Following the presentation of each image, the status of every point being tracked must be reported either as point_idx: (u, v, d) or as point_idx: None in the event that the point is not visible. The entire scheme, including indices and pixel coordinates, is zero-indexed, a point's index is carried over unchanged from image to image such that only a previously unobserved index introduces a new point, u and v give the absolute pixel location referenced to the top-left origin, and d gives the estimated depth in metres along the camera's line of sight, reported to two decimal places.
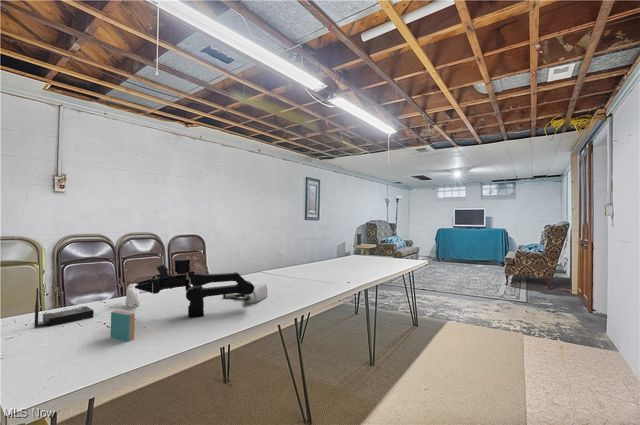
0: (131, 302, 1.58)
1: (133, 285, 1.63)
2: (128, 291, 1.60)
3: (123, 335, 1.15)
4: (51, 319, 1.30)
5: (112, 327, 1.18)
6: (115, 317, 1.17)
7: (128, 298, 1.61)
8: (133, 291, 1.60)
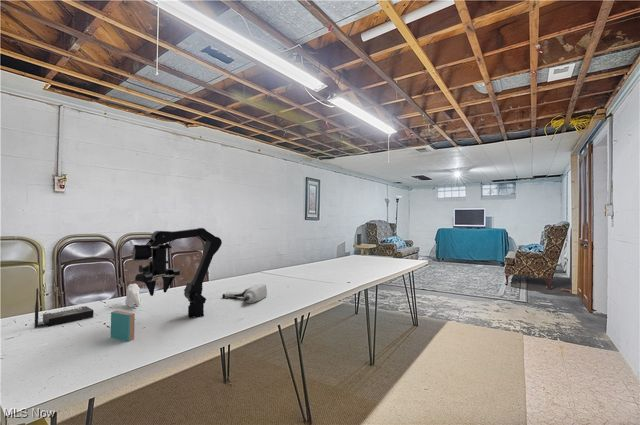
0: (131, 302, 1.58)
1: (133, 285, 1.63)
2: (128, 291, 1.60)
3: (123, 335, 1.15)
4: (51, 319, 1.30)
5: (112, 327, 1.18)
6: (115, 317, 1.17)
7: (128, 298, 1.61)
8: (133, 291, 1.60)
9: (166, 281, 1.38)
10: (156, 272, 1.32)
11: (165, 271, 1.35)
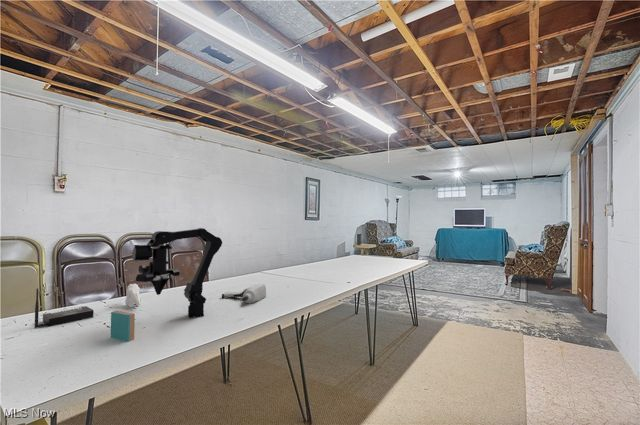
0: (131, 302, 1.58)
1: (133, 285, 1.63)
2: (128, 291, 1.60)
3: (123, 335, 1.15)
4: (51, 319, 1.30)
5: (112, 327, 1.18)
6: (115, 317, 1.17)
7: (128, 298, 1.61)
8: (133, 291, 1.60)
9: None
10: (156, 272, 1.32)
11: (165, 271, 1.35)
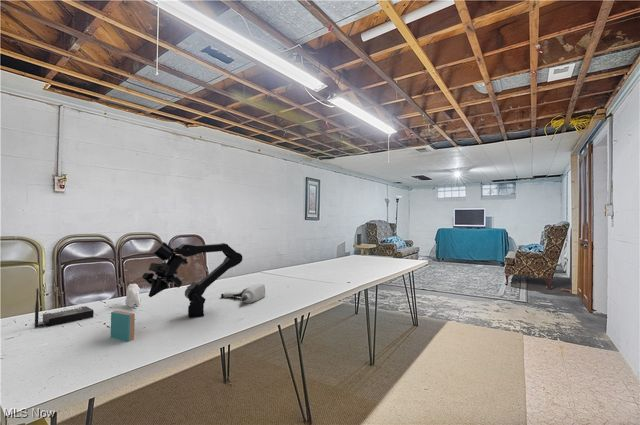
0: (131, 302, 1.58)
1: (133, 285, 1.63)
2: (128, 291, 1.60)
3: (123, 335, 1.15)
4: (51, 319, 1.30)
5: (112, 327, 1.18)
6: (115, 317, 1.17)
7: (128, 298, 1.61)
8: (133, 291, 1.60)
9: None
10: None
11: None
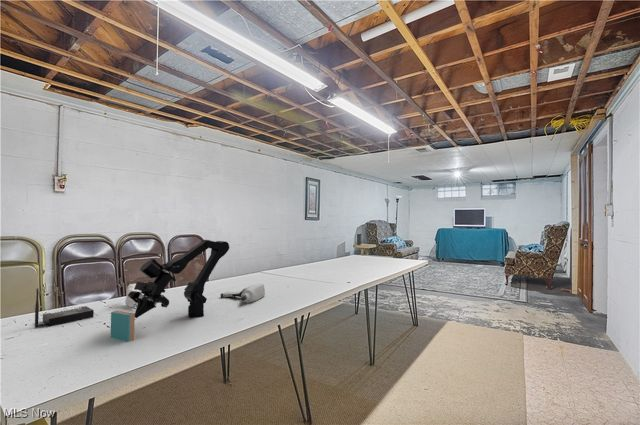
0: (131, 302, 1.58)
1: (133, 285, 1.63)
2: (128, 291, 1.60)
3: (123, 335, 1.15)
4: (51, 319, 1.30)
5: (112, 327, 1.18)
6: (115, 317, 1.17)
7: (128, 298, 1.61)
8: None
9: None
10: None
11: None
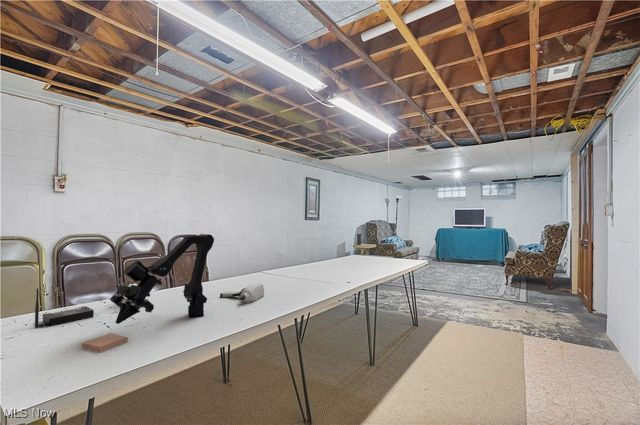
0: None
1: None
2: None
3: None
4: (51, 319, 1.30)
5: None
6: None
7: None
8: None
9: None
10: None
11: None
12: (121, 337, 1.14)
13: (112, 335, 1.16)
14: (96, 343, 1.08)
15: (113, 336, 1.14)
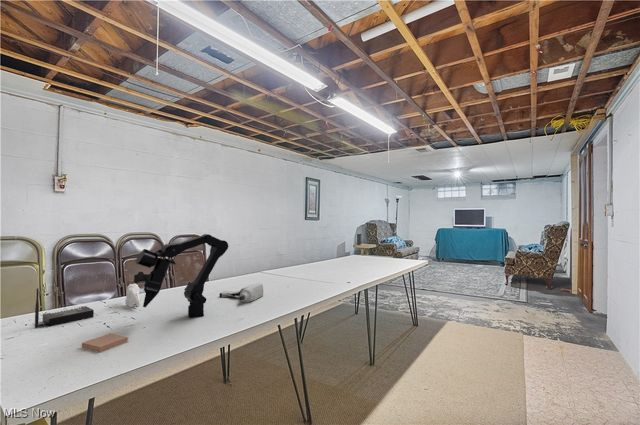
0: (131, 302, 1.58)
1: (133, 285, 1.63)
2: (128, 291, 1.60)
3: None
4: (51, 319, 1.30)
5: None
6: None
7: (128, 298, 1.61)
8: (133, 291, 1.60)
9: None
10: None
11: None
12: (121, 337, 1.14)
13: (112, 335, 1.16)
14: (96, 343, 1.08)
15: (113, 336, 1.14)
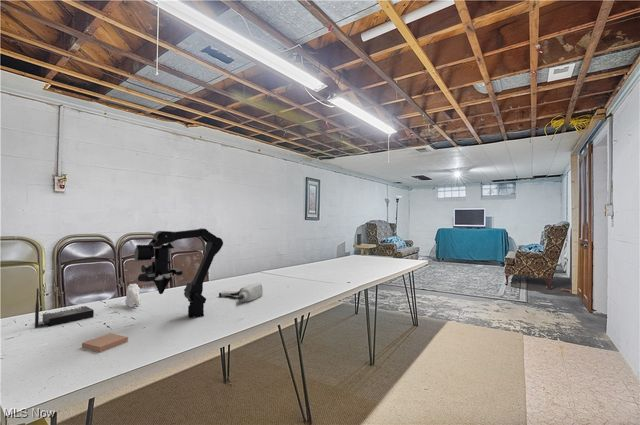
0: (131, 302, 1.58)
1: (133, 285, 1.63)
2: (128, 291, 1.60)
3: None
4: (51, 319, 1.30)
5: None
6: None
7: (128, 298, 1.61)
8: (133, 291, 1.60)
9: None
10: (159, 272, 1.33)
11: (167, 271, 1.35)
12: (121, 337, 1.14)
13: (112, 335, 1.16)
14: (96, 343, 1.08)
15: (113, 336, 1.14)
